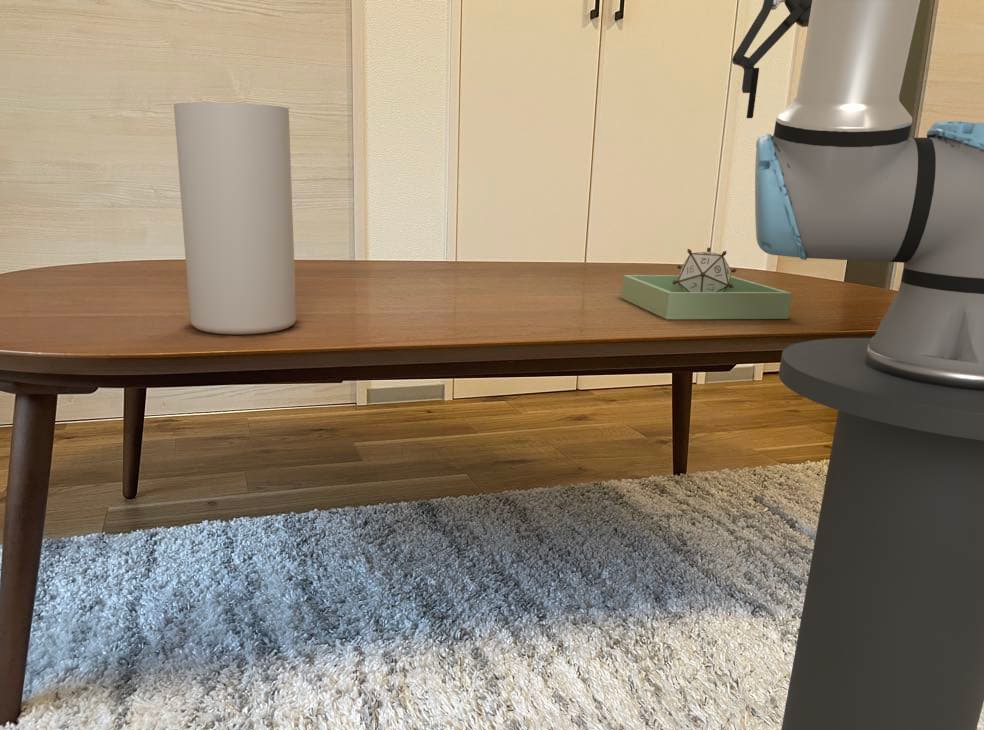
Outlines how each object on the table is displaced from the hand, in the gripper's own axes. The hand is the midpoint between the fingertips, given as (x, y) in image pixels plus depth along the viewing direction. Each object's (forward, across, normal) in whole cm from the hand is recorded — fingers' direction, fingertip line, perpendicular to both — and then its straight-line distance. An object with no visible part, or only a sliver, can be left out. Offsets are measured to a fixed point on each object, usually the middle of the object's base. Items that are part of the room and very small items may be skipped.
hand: (800, 118), depth 110 cm
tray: (+27, +11, +8) cm, 30 cm away
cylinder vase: (+27, +64, +45) cm, 83 cm away
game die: (+26, +10, +8) cm, 29 cm away
